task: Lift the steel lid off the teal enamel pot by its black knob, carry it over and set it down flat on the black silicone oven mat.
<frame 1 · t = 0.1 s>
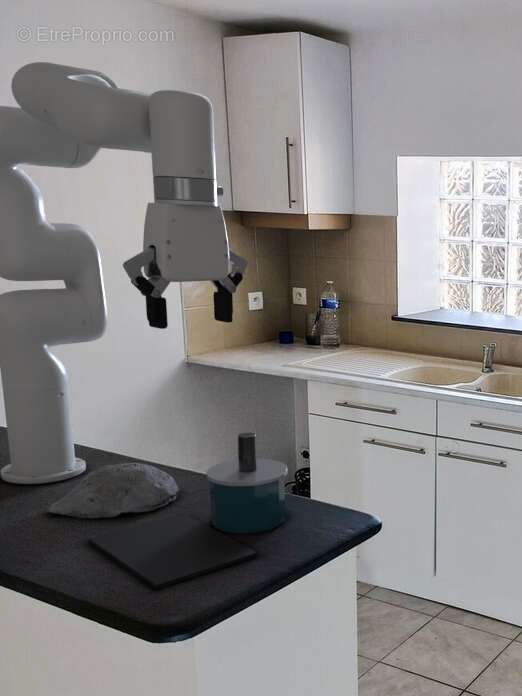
hand: (192, 324, 107), 31 cm above the countertop, tool pointing down, fingers open, 9 cm apart
pot: (249, 520, 122), on the countertop
stone: (124, 501, 128), on the countertop
oven mat: (172, 549, 111), on the countertop
lid: (247, 473, 121), point 7 cm above the countertop, touching pot
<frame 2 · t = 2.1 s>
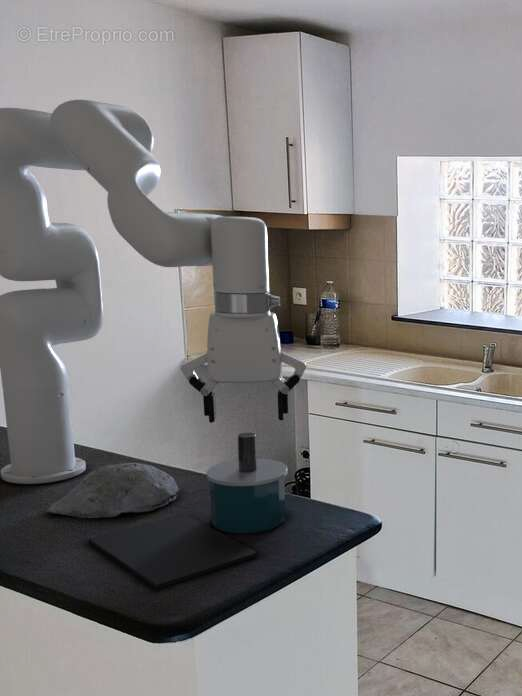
hand: (247, 419, 119), 16 cm above the countertop, tool pointing down, fingers open, 9 cm apart
nothing on the countertop moved.
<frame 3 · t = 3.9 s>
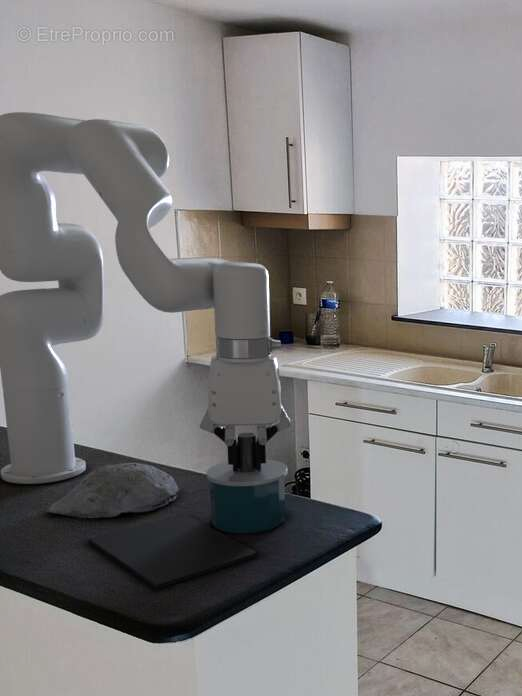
hand: (247, 467, 120), 8 cm above the countertop, tool pointing down, fingers closed on lid, 2 cm apart
lid: (247, 473, 121), point 8 cm above the countertop, touching gripper, pot
everything else where it was.
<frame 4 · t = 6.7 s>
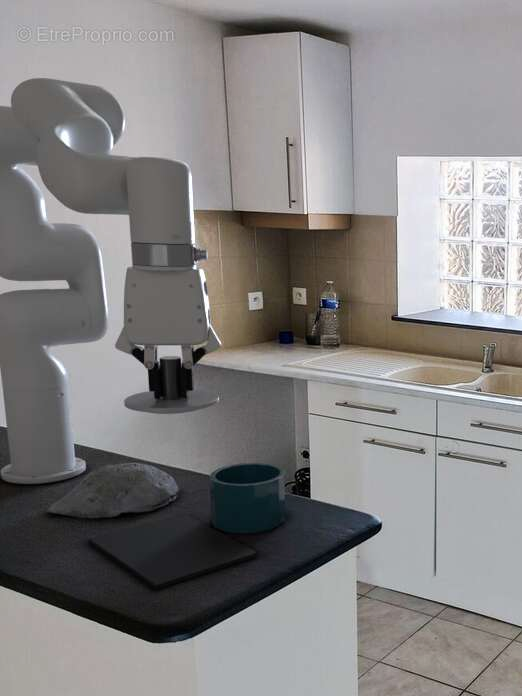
hand: (172, 395, 107), 22 cm above the countertop, tool pointing down, fingers closed on lid, 2 cm apart
lid: (172, 402, 107), point 21 cm above the countertop, touching gripper
everything else where it was.
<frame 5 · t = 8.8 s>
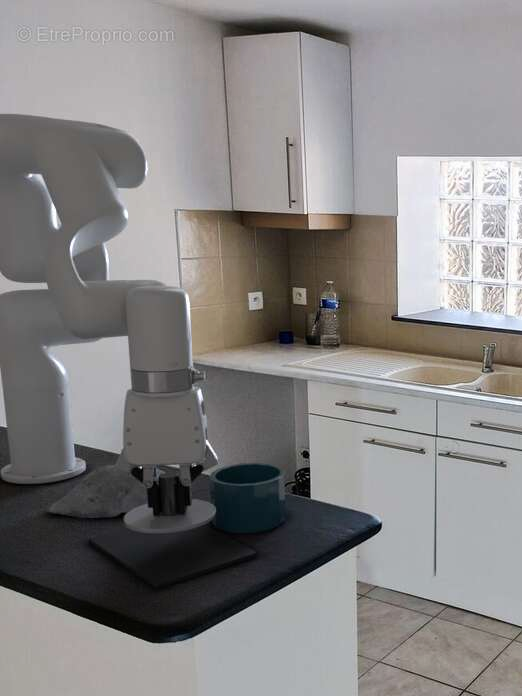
hand: (170, 510, 109), 6 cm above the countertop, tool pointing down, fingers closed on lid, 2 cm apart
lid: (171, 517, 110), point 5 cm above the countertop, touching gripper
everything else where it was.
when the fingers open (2 cm above the countertop, at t = 10.0 s): lid stays where it is, resting on oven mat.
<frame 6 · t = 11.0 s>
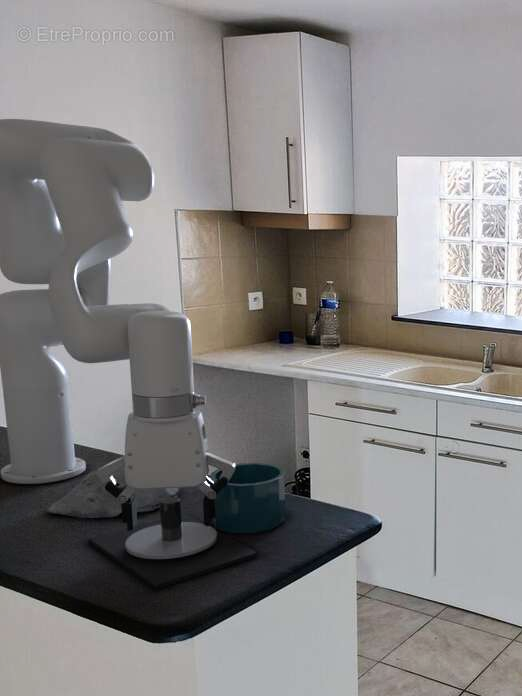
hand: (170, 524, 110), 4 cm above the countertop, tool pointing down, fingers open, 9 cm apart
lid: (172, 541, 110), point 1 cm above the countertop, touching oven mat
everything else where it was.
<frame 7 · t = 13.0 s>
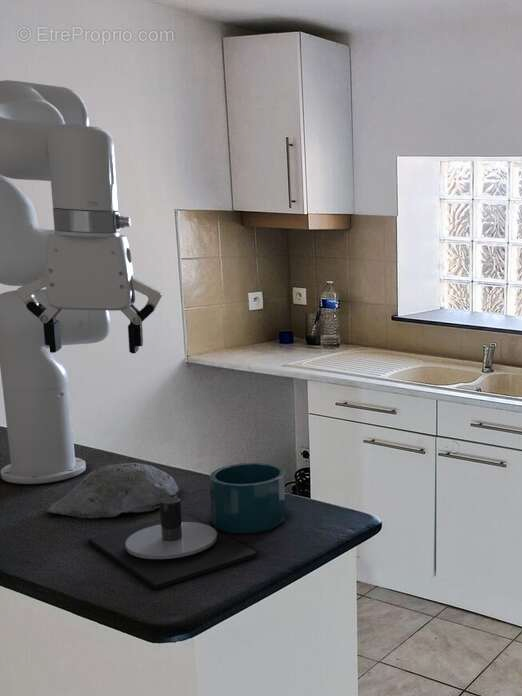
hand: (95, 351, 109), 27 cm above the countertop, tool pointing down, fingers open, 9 cm apart
nothing on the countertop moved.
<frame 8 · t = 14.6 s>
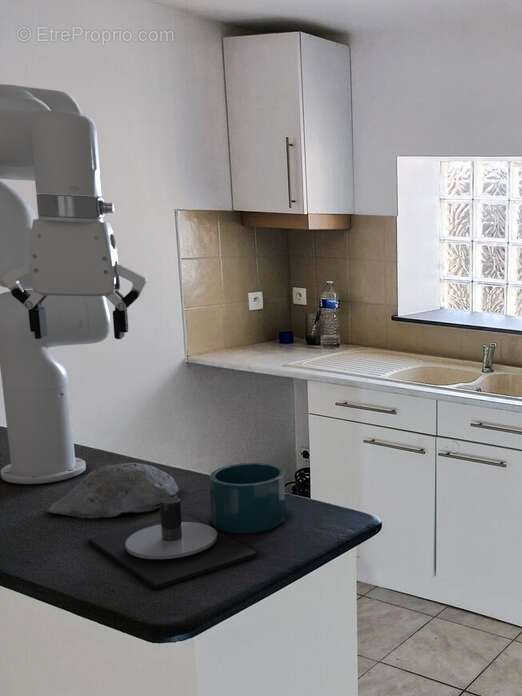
hand: (81, 337, 109), 28 cm above the countertop, tool pointing down, fingers open, 9 cm apart
nothing on the countertop moved.
at the end: lid 0.1 cm off-centre on the oven mat, point 1.2 cm above the oven mat's base; lid tilted 0°; the gripper is holding nothing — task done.
